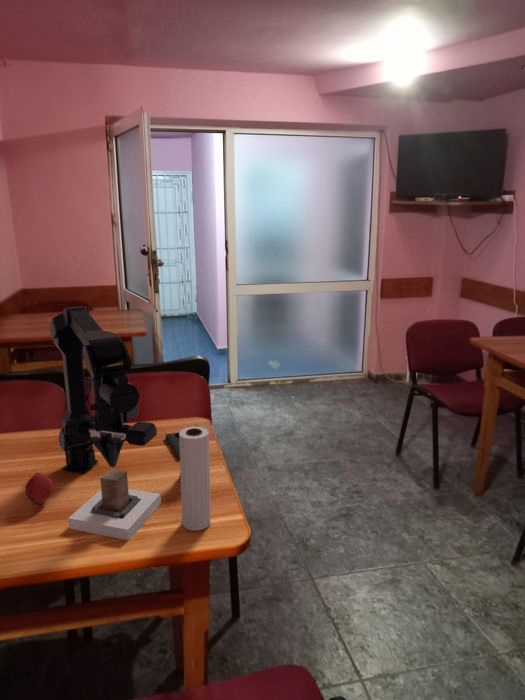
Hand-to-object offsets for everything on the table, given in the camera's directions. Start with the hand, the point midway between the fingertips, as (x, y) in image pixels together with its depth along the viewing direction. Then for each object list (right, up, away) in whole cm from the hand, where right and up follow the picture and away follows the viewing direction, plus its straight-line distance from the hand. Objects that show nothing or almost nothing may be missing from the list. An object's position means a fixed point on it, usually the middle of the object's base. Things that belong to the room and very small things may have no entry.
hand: (113, 466), depth 110 cm
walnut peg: (0, -12, +3) cm, 12 cm away
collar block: (0, -12, +3) cm, 12 cm away
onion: (-19, -10, +8) cm, 23 cm away
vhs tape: (+10, -3, +36) cm, 38 cm away
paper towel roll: (+18, -13, +1) cm, 22 cm away
